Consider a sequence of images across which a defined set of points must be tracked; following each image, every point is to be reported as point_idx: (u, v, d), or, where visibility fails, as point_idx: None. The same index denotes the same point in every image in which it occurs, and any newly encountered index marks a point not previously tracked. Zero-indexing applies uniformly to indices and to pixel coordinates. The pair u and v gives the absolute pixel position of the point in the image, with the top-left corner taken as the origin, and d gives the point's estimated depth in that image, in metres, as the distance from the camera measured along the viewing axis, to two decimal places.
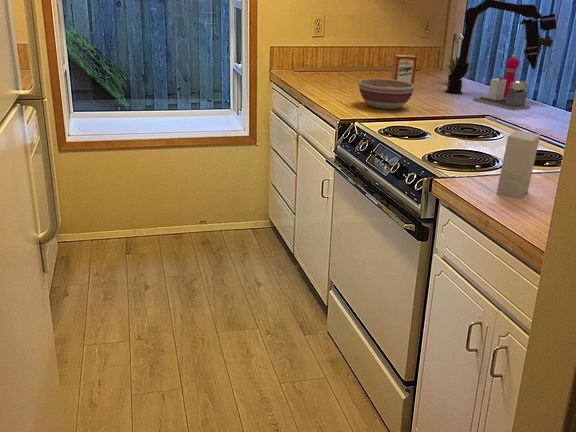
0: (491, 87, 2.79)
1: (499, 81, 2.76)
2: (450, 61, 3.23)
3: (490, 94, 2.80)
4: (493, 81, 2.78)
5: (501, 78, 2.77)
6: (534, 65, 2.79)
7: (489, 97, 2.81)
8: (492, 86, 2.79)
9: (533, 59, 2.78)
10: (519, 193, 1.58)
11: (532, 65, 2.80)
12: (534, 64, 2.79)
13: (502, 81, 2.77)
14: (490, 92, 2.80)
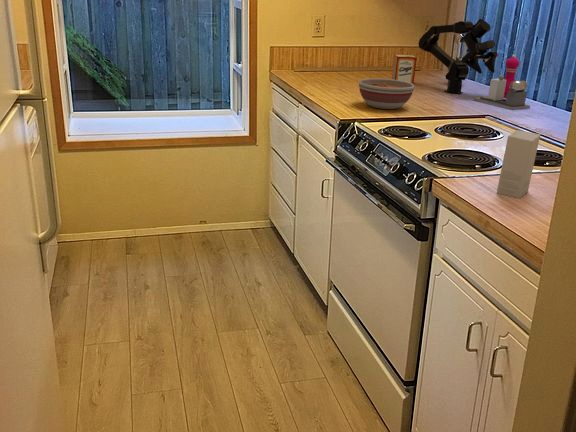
0: (491, 87, 2.79)
1: (499, 81, 2.76)
2: None
3: (490, 94, 2.80)
4: (493, 81, 2.78)
5: (501, 78, 2.77)
6: (479, 69, 2.81)
7: (489, 97, 2.81)
8: (492, 86, 2.79)
9: (475, 65, 2.82)
10: (519, 193, 1.58)
11: (477, 70, 2.82)
12: (478, 68, 2.81)
13: (502, 81, 2.77)
14: (490, 92, 2.80)
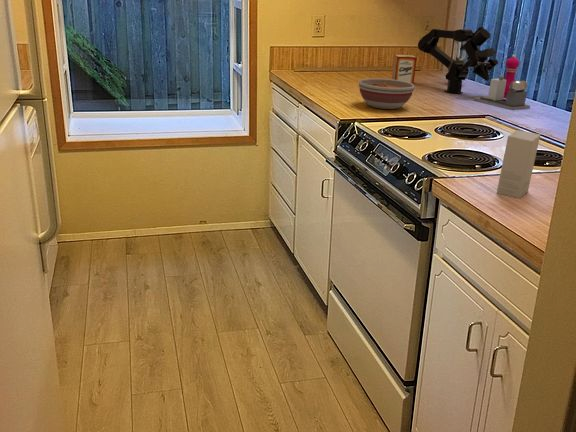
0: (491, 87, 2.79)
1: (499, 81, 2.76)
2: None
3: (490, 94, 2.80)
4: (493, 81, 2.78)
5: (501, 78, 2.77)
6: (485, 77, 2.84)
7: (489, 97, 2.81)
8: (492, 86, 2.79)
9: (481, 72, 2.84)
10: (519, 193, 1.58)
11: (484, 77, 2.84)
12: (484, 76, 2.84)
13: (502, 81, 2.77)
14: (490, 92, 2.80)
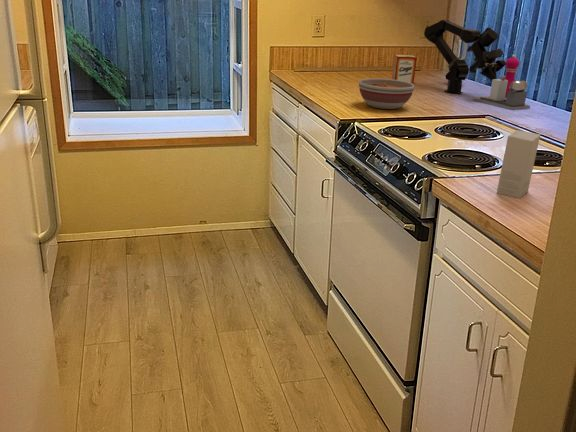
0: (493, 87, 2.79)
1: (501, 81, 2.76)
2: None
3: (492, 94, 2.80)
4: (494, 81, 2.77)
5: (503, 78, 2.76)
6: (493, 78, 2.80)
7: (491, 97, 2.80)
8: (493, 86, 2.78)
9: (489, 73, 2.81)
10: (519, 193, 1.58)
11: (492, 79, 2.81)
12: (492, 77, 2.80)
13: (504, 81, 2.77)
14: (492, 92, 2.80)
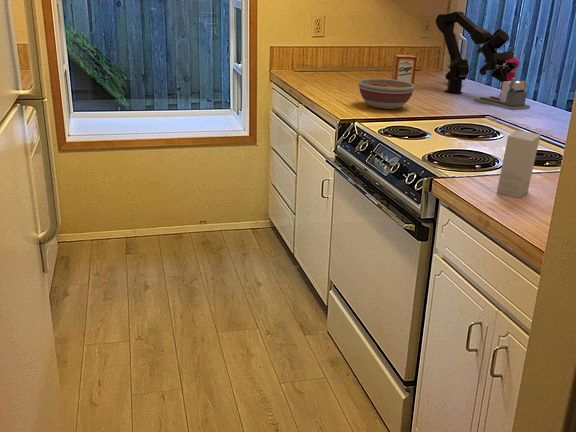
0: (503, 90, 2.74)
1: None
2: (450, 61, 3.23)
3: (502, 97, 2.75)
4: (505, 84, 2.73)
5: None
6: (504, 80, 2.75)
7: (501, 100, 2.76)
8: (504, 88, 2.74)
9: (500, 75, 2.76)
10: (519, 193, 1.58)
11: (502, 81, 2.76)
12: (503, 79, 2.75)
13: None
14: (502, 95, 2.75)
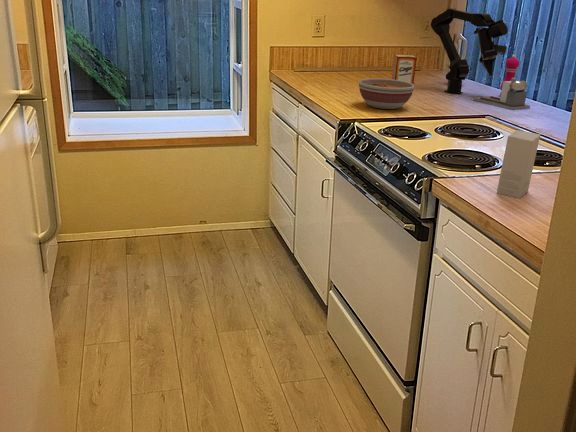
0: (503, 90, 2.74)
1: None
2: None
3: (502, 97, 2.75)
4: (505, 84, 2.73)
5: None
6: (491, 71, 2.82)
7: (501, 100, 2.76)
8: (504, 88, 2.74)
9: (490, 65, 2.82)
10: (519, 193, 1.58)
11: (489, 71, 2.83)
12: (491, 70, 2.82)
13: None
14: (502, 95, 2.75)
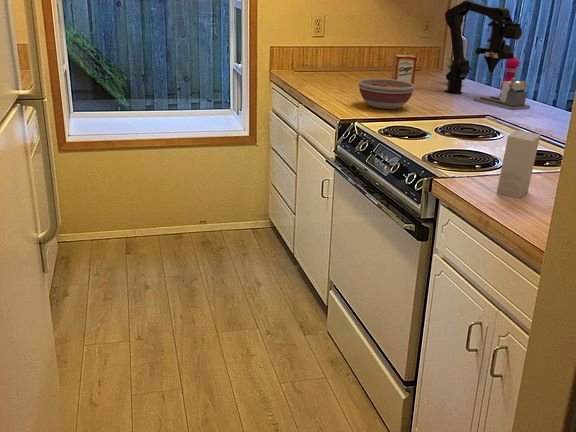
0: (503, 90, 2.74)
1: None
2: (450, 61, 3.23)
3: (502, 97, 2.75)
4: (505, 84, 2.73)
5: None
6: (493, 69, 2.83)
7: (501, 100, 2.76)
8: (504, 88, 2.74)
9: (495, 63, 2.81)
10: (519, 193, 1.58)
11: (492, 68, 2.83)
12: (494, 68, 2.83)
13: None
14: (502, 95, 2.75)
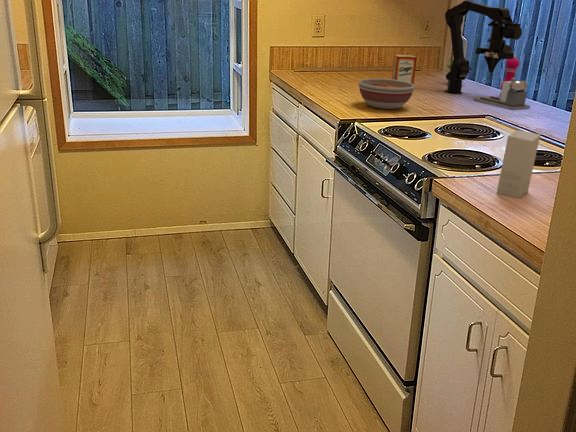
0: (503, 90, 2.74)
1: None
2: (450, 61, 3.23)
3: (502, 97, 2.75)
4: (505, 84, 2.73)
5: None
6: (493, 69, 2.83)
7: (501, 100, 2.76)
8: (504, 88, 2.74)
9: (495, 63, 2.81)
10: (519, 193, 1.58)
11: (492, 68, 2.83)
12: (494, 68, 2.83)
13: None
14: (502, 95, 2.75)
